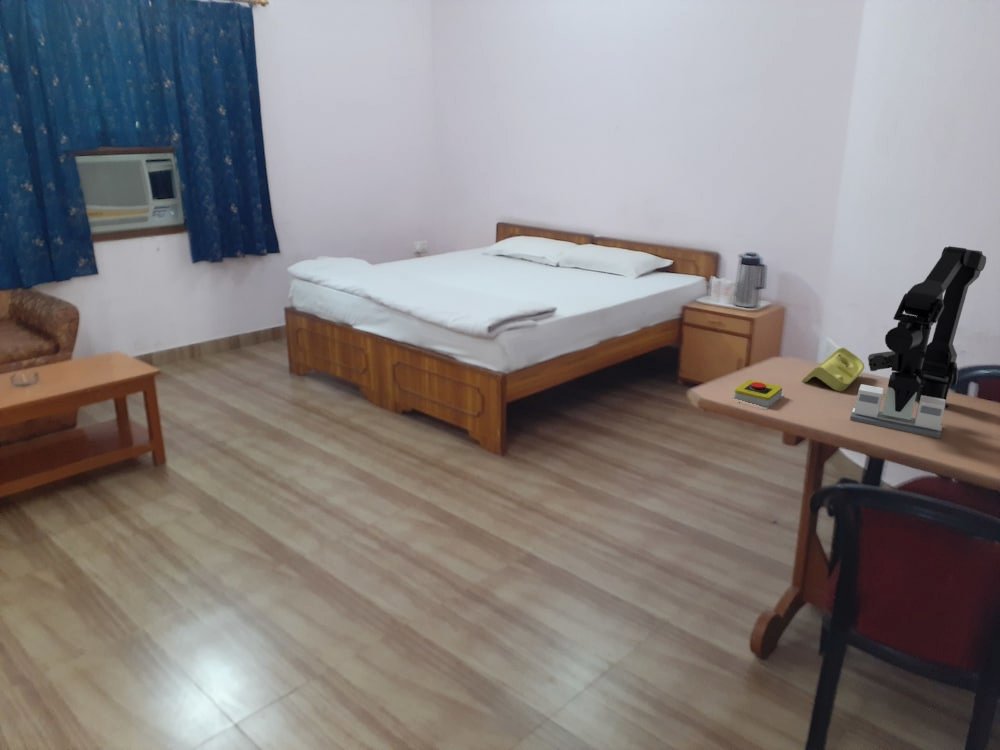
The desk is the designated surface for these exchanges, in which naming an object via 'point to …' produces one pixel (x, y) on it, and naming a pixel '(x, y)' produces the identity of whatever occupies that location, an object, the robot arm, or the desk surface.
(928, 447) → the desk surface
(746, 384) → the emergency button
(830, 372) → the plastic component
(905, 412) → the block
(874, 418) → the rail board
